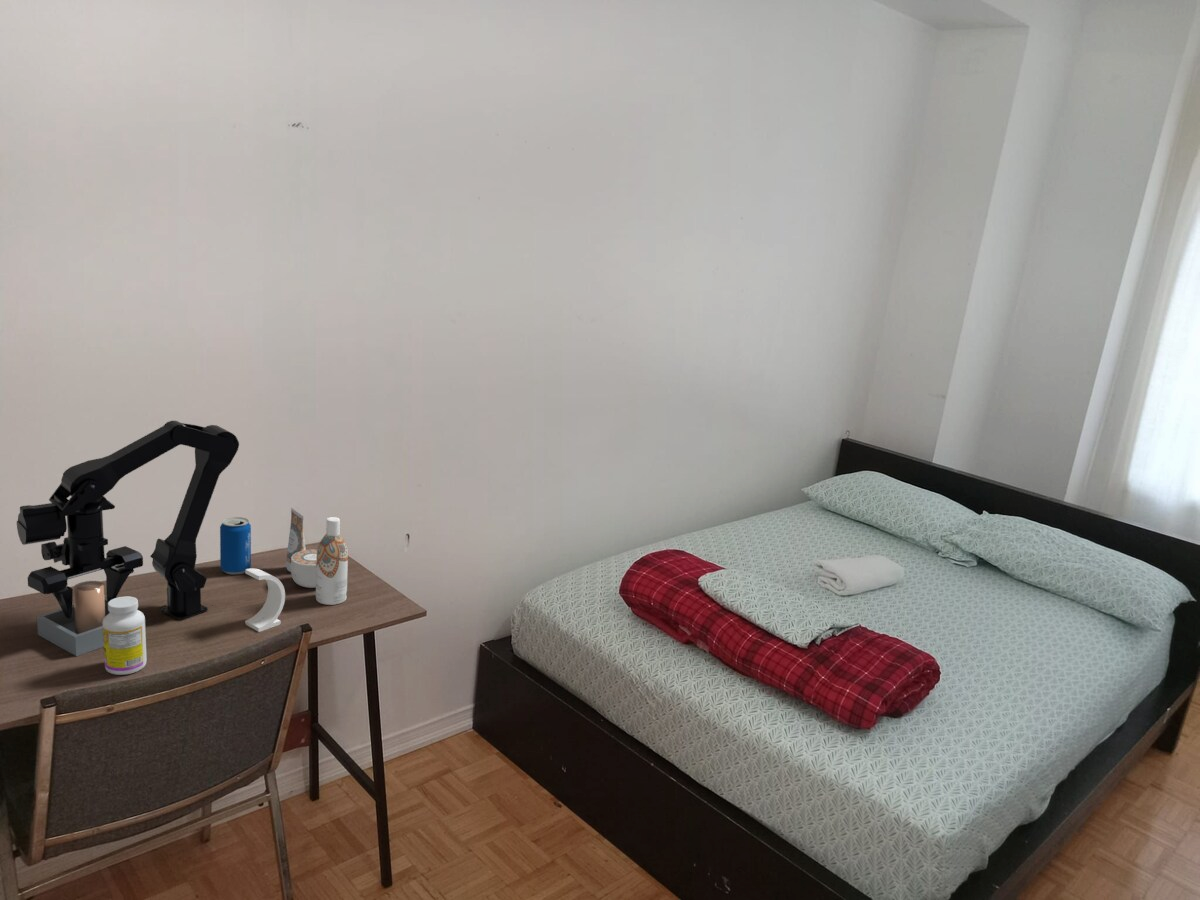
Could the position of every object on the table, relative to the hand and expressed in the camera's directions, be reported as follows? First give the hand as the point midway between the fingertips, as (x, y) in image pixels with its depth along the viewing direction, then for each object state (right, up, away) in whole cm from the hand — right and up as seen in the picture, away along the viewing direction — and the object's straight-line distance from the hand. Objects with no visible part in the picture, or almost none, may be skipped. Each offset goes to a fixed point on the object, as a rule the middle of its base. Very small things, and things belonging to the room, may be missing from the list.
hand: (89, 610), depth 166 cm
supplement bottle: (+12, -9, -9) cm, 17 cm away
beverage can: (+13, +3, +35) cm, 38 cm away
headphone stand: (+29, -5, +12) cm, 32 cm away
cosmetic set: (+32, 0, +32) cm, 45 cm away
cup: (0, -4, +1) cm, 4 cm away
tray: (-1, -5, +1) cm, 5 cm away
